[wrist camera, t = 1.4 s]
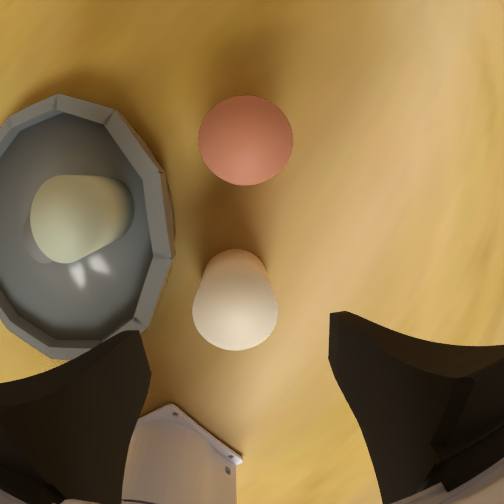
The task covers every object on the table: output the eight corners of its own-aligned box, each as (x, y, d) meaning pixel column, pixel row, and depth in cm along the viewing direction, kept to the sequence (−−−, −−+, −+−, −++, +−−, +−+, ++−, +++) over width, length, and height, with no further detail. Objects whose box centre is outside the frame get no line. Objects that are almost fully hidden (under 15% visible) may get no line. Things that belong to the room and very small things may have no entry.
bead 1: (290, 160, 17) (311, 150, 12) (235, 199, 17) (235, 204, 12) (250, 107, 16) (256, 79, 11) (195, 145, 16) (180, 130, 11)
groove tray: (232, 257, 18) (232, 267, 16) (70, 377, 19) (59, 391, 17) (86, 58, 14) (72, 47, 12) (-36, 216, 16) (-52, 220, 14)
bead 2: (279, 286, 19) (294, 320, 14) (229, 320, 19) (227, 363, 14) (242, 235, 18) (244, 255, 13) (190, 273, 18) (174, 305, 13)
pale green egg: (147, 214, 16) (113, 227, 11) (102, 255, 16) (60, 279, 12) (110, 162, 15) (66, 156, 10) (67, 205, 16) (19, 214, 11)
